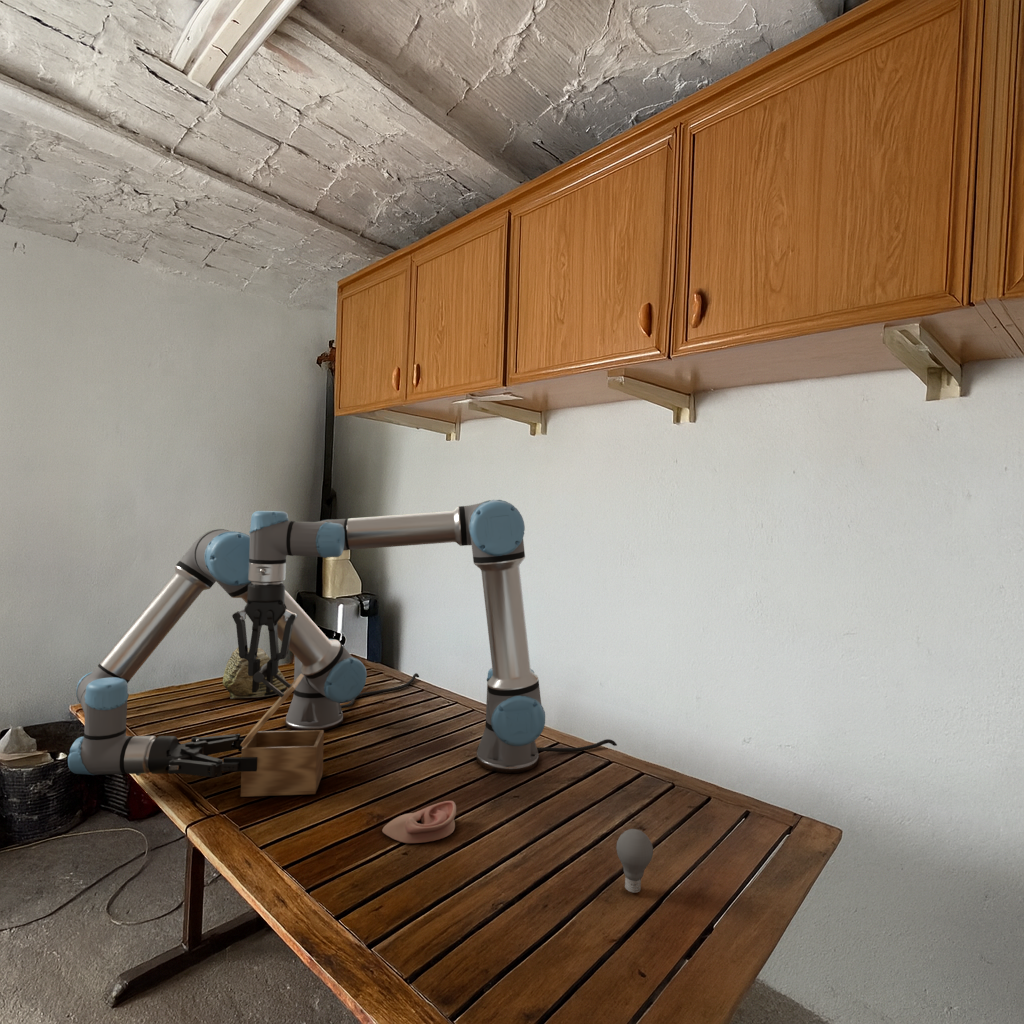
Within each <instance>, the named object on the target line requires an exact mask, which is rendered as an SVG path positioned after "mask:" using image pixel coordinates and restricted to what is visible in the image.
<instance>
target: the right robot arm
mask: <svg viewBox="0 0 1024 1024" xmlns="http://www.w3.org/2000/svg"><path fill="white" fill-rule="evenodd" d="M249 528H250V529H249V532H248V533H249V536H250V549H249V572H248V580H249V581H251V583H249V585H248V595H247V603H246V604H245V606H244V609H242V610H239V611H236V612H234V613H232V615H231V616H232V619H233V621H234V623H235V627H236V638H237V648H239V657H240V658H242V659H243V658H244V659H246V660H248V675H249V676H254V674H255V673H256V672H257V671H258V670H259V669H260V659H256V657H257V651H258V648H259V644H260V639H261V631H262V627H263V626H266V627H267V631H268V639H269V653H270V658H271V659H270V660H269V661H268V662H267V679H266V680H267V681H268V682H270V683H271V684H272V685H273V676H276V675H277V673H278V669H279V661H280V660H284V659H286V658H287V656H288V654H289V651H290V650H289V645H290V639H291V633H292V628H293V623H294V621H295V619H296V618H297V616H298V614H297V613H292V612H290V611H289V610H287V608H286V605H285V602H284V600H285V590H286V584H285V583H284V581H285V580H286V576H287V575H286V574H287V556H291V557H293V556H296V557H297V556H298V557H314V558H316V557H318V558H324V559H327V558H339V557H341V556H342V555H343V553H344V551H351V550H353V551H354V550H366V549H367V550H368V549H379V548H380V549H382V548H392V547H408V546H421V545H422V546H423V545H435V544H437V545H438V544H447V543H455V544H457V545H459V546H460V547H463V546H464V547H467V546H471V551H472V561H473V565H475V566H476V567H477V568H478V569H479V570H480V571H481V580H482V590H483V598H484V599H483V600H484V607H485V615H486V617H485V618H486V625H487V634H488V643H489V651H490V661H491V668H490V669H488V671H487V677H486V701H485V702H486V703H485V725H484V726H485V727H484V730H483V733H482V736H481V738H480V741H479V744H478V745H477V747H476V762H477V764H478V765H479V766H481V767H483V768H485V769H486V770H489V771H492V772H497V773H502V774H503V773H504V774H516V773H517V774H518V773H524V772H527V771H531V770H533V769H534V768H536V767H537V765H538V764H539V752H550V753H551V752H554V753H576V752H585V751H588V750H593V749H597V748H599V747H601V746H603V745H606V744H610V745H611V746H614V747H616V746H617V747H618V744H617V742H616V741H614V740H613V739H609V738H608V739H607V738H606V739H603V740H600V741H598V742H596V743H593V744H587V745H585V746H584V745H583V746H580V747H579V746H578V747H549V746H548V747H540V746H539V747H538V746H537V743H536V740H537V739H538V738H539V737H540V736H541V734H542V733H543V731H544V729H545V725H546V712H545V709H544V706H543V704H542V697H541V691H540V690H541V689H540V680H539V675H537V674H536V673H535V671H534V670H533V669H532V668H531V660H530V650H529V642H528V633H527V623H526V615H525V604H524V595H523V587H522V577H521V568H520V566H521V565H522V563H523V561H524V560H525V559H526V553H525V542H524V537H525V531H526V528H525V521H524V517H523V515H522V514H521V512H520V511H519V509H518V508H517V507H515V505H513V504H512V503H511V502H508V501H506V500H502V499H491V500H485V501H482V502H479V503H475V504H470V505H469V504H468V505H462V506H456V507H455V508H454V510H447V511H437V512H436V511H434V512H433V511H432V512H420V513H419V512H418V513H406V514H393V515H392V514H391V515H379V516H363V517H351V518H338V519H337V518H336V519H335V518H334V519H333V518H328V519H322V520H319V521H294V520H290V519H289V514H288V513H287V512H286V511H279V510H256V511H254V512H253V513H252V514H251V518H250V527H249ZM283 615H285V621H287V622H286V625H285V629H284V635H283V640H282V641H281V646H279V638H278V633H277V626H278V625H277V622H278V621H279V620H280V618H281V617H282V616H283ZM247 617H248V618H249V620H250V621H251V623H252V626H251V635H250V641H249V642H250V643H249V646H248V637H247V627H246V626H247V625H246V618H247ZM279 647H280V648H279ZM248 648H250V649H249V652H248ZM258 689H259V683H257V682H255V681H254V679H253V681H252V692H257V690H258ZM270 691H271V689H270V688H269V687H268V686H266V693H270Z"/></svg>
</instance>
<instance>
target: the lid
mask: <svg viewBox="0 0 1024 1024" xmlns="http://www.w3.org/2000/svg"><path fill="white" fill-rule="evenodd" d="M266 676H267V663H265V664H264V665H263V666H262V667H261V668H260V669H259V670H258V671H257V672H256V673H255V674H254V676H253V679H254V681H255V682H257V683H260V682H263V683H264V684H265V685H266V686H268V687H269V688H270V689H271V690H273V691H274V692H275V693H276V695H278V696H279V697H278V699H277V700H276V701H275V702H274V703H273V704H272V705H271V707H270V708H269V709H268V710H267V711H266V713H265V714H263V716H262V717H261V718H260V719H259V720H258V721H257V723H256V724H254V726H253V727H252V728H251V729H250V731H249V732H248V734H247V735H246V736H245V737H244V738H245V739H244V740H243V742H242V743H241V746H242V747H244V746H245V745H246V744H247V743H248V742H249V741H250V740H251V739H252V737H253V736H254V735H255V734H256V733H257V732H258V731H260V729H261V728H262V727H263V726H264V725H265V724H266V723H267V722H268V721H269V719H270V718H271V717H272V716H273V715H274V714H275V712H277V710H279V708H280V707H281V706H282V705H283V703H285V701H287V699H289V697H290V696H291V695H292V693H294V690H295V689H296V687H297V686H298V684H299V683H300V681H301V680H302V678H303V677H304V675H303V674H300V675H299V676H298V677H297V678H296V680H295V681H294V680H293V682H292V683H290V682H288V681H287V680H286V679H285V680H284V679H283V678H282V677H281V676H279V675H278V674H277V675H276V676H274V677H275V678H277V679H278V680H279V681H280V682H282V683H283V684H284V685H285V686H287V687H286V690H285V691H284V692H283V693H282V692H281V691H280V690H278V689H277V688H276V687H275V686H273V685H272V684H271V683H270V682H268V681H267V680H266V679H265V678H266Z"/></svg>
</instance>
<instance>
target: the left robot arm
mask: <svg viewBox="0 0 1024 1024" xmlns="http://www.w3.org/2000/svg"><path fill="white" fill-rule="evenodd" d="M249 549H250V534H246V533H244V532H241V531H233V530H229V529H224V528H217V529H216V528H215V529H212V530H209V531H207V532H205V533H203V534H202V535H200V536H199V537H198V538H197V539H196V540H195V541H194V542H193V543H192V545H191V546H190V547H189V548H188V550H187V551H186V552H185V553H184V554H183V556H182V557H181V558H180V560H179V561H178V562H177V563H176V564H175V566H174V570H175V571H174V574H173V575H172V576H171V578H170V579H168V580H167V582H166V583H165V584H164V586H163V587H162V588H161V589H160V590H159V591H158V592H157V594H156V595H155V596H154V597H153V599H152V600H151V601H150V602H149V603H148V605H147V606H146V607H145V608H144V609H143V610H142V612H141V613H140V614H139V615H138V617H137V618H136V619H135V620H134V621H133V622H132V623H131V625H130V626H129V627H128V628H127V630H126V631H125V632H124V633H123V635H122V636H121V637H120V638H119V639H118V641H117V642H116V643H115V644H114V645H113V647H112V648H111V649H110V650H109V651H108V653H106V655H105V656H104V657H103V658H102V660H101V661H100V662H99V663H98V664H97V666H95V668H94V669H93V670H92V671H90V672H87V673H86V674H84V675H83V676H81V678H80V679H79V681H78V682H77V684H76V689H75V690H76V691H75V692H76V693H75V694H76V699H77V701H78V702H79V704H80V706H81V708H82V712H83V714H84V730H83V731H84V732H83V736H79V737H77V738H76V739H75V740H74V742H73V743H72V744H71V746H70V748H69V754H68V756H67V766H68V768H69V771H70V772H72V773H73V774H76V775H89V776H98V775H99V776H100V775H101V776H102V775H135V776H136V777H137V776H141V775H149V774H150V773H151V774H152V775H178V774H179V775H180V774H181V775H190V776H198V777H206V778H215V777H216V778H221V777H222V776H223V772H224V773H229V772H230V773H232V772H235V773H238V772H240V773H241V772H246V771H257V757H242V756H228V757H227V756H226V757H223V759H221V758H217V757H213V756H211V755H215V754H220V753H225V752H231V751H236V750H238V751H237V752H242V748H243V747H242V746H241V743H242V742H243V740H244V739H245V738H246V737H241V733H234V734H224V735H222V734H221V735H212V736H202V737H201V736H194V737H191V741H187V742H185V743H180V741H179V739H178V737H177V736H175V735H158V736H157V737H156V736H155V735H127V719H128V718H127V716H128V699H129V691H128V690H129V689H128V684H129V682H130V681H131V680H132V678H133V677H134V676H135V675H136V673H137V672H138V671H139V670H140V668H141V667H142V666H143V665H144V664H145V662H146V661H147V660H148V659H149V657H150V656H151V655H152V654H153V653H154V651H155V650H156V649H157V648H158V646H159V645H160V644H161V643H162V641H163V640H164V639H165V638H166V637H167V636H168V634H169V633H170V631H172V630H173V628H174V627H175V626H176V624H177V623H178V622H179V621H180V619H181V618H182V617H183V616H184V614H185V613H186V612H187V611H188V610H189V609H190V607H192V605H193V603H194V602H195V601H196V600H197V599H198V598H199V596H200V595H201V594H202V592H203V591H206V590H210V589H211V588H212V587H213V586H214V585H215V583H217V584H218V585H219V586H220V587H221V588H222V589H223V590H224V591H225V593H227V595H229V597H230V598H232V599H242V600H243V602H244V603H246V604H247V595H248V585H249V583H251V581H249V580H248V572H249ZM284 602H285V605H286V608H287V610H289V611H290V612H292V613H297V614H298V616H297V618H296V619H295V621H294V623H293V628H292V633H291V639H290V645H289V650H288V651H290V652H291V653H292V654H293V656H294V672H293V682H294V681H295V680H296V678H297V677H298V676H299V675H300V674H303V675H304V677H303V678H302V680H301V681H300V683H299V684H298V686H297V687H296V689H295V690H294V691H293V695H292V696H293V697H292V699H291V702H290V704H289V708H288V711H287V713H286V715H285V726H286V728H287V729H289V730H291V731H303V730H324V732H325V731H329V730H332V729H335V728H337V727H339V726H340V725H342V723H343V722H344V714H343V709H347V708H350V707H352V706H353V705H354V704H355V701H356V699H359V698H361V697H365V696H372V695H377V694H383V693H389V692H396V691H400V690H402V689H404V688H406V687H408V686H409V685H411V684H412V683H414V681H415V679H416V678H420V675H419V673H417V672H416V673H414V674H413V675H412V677H411V679H410V680H409V681H407V682H406V683H404V684H401V685H399V686H394V687H390V688H383V689H382V688H381V689H378V690H372V691H365V692H362V691H363V690H364V688H365V685H366V683H367V676H368V673H367V668H366V666H365V665H364V663H363V662H362V661H361V660H360V659H359V658H357V657H354V656H352V654H350V652H349V651H348V650H347V649H346V647H344V646H343V644H342V643H341V641H339V640H338V639H335V638H329V637H328V636H326V633H324V632H323V631H322V629H320V627H318V625H317V624H316V623H315V622H314V621H313V620H312V618H311V617H310V616H309V615H308V614H307V612H305V610H304V609H303V608H302V607H301V606H300V604H299V603H297V601H296V600H295V599H294V597H292V596H291V595H290V593H289V592H288V591H287V590H286V589H285V600H284ZM286 622H287V621H285V615H283V616H282V617H281V618H280V620H279V621H278V622H277V625H278V626H277V633H278V640H280V641H281V642H282V640H283V635H284V629H285V625H286ZM348 702H349V703H348ZM345 703H346V704H345Z"/></svg>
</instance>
